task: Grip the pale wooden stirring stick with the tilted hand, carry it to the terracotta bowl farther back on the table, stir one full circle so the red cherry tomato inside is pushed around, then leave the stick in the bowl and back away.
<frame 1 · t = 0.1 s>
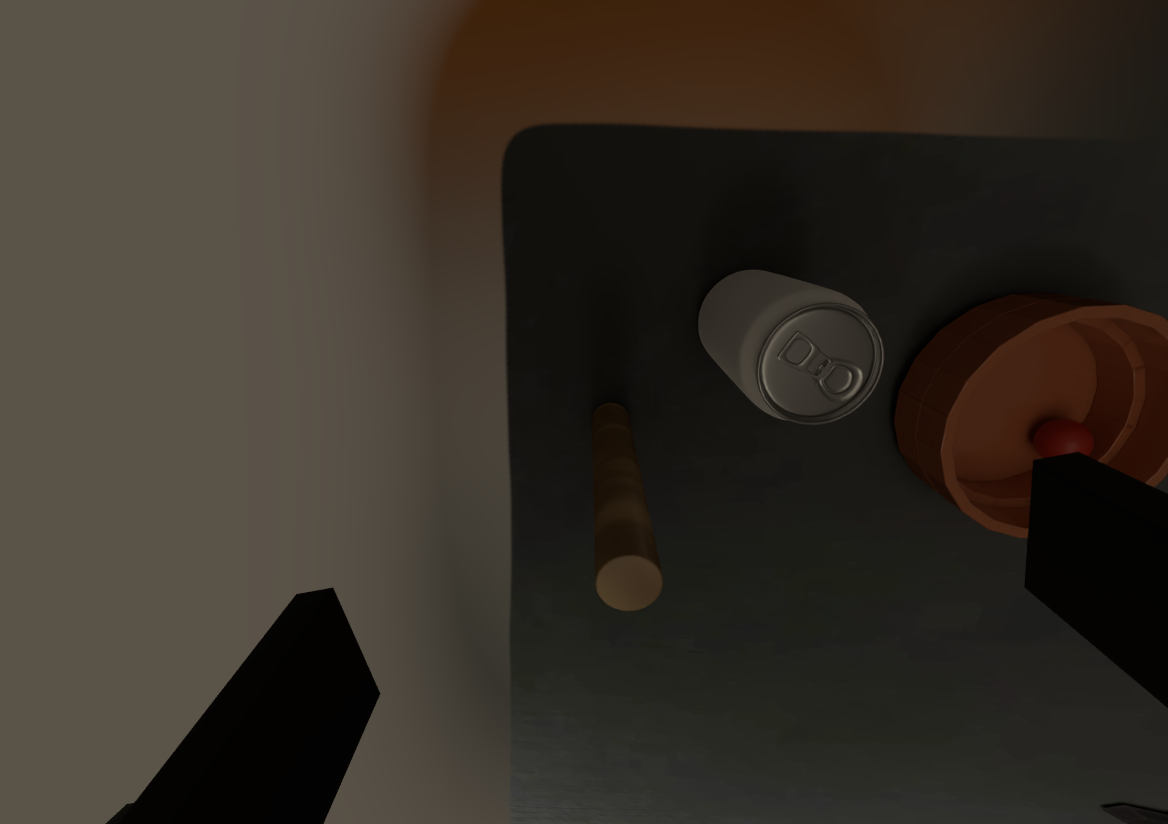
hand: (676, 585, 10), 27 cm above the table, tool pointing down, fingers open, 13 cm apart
stick: (610, 420, 38), on the table
can: (745, 319, 35), on the table
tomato: (1062, 441, 36), point 2 cm above the table, touching stir bowl
stir bowl: (995, 398, 37), on the table
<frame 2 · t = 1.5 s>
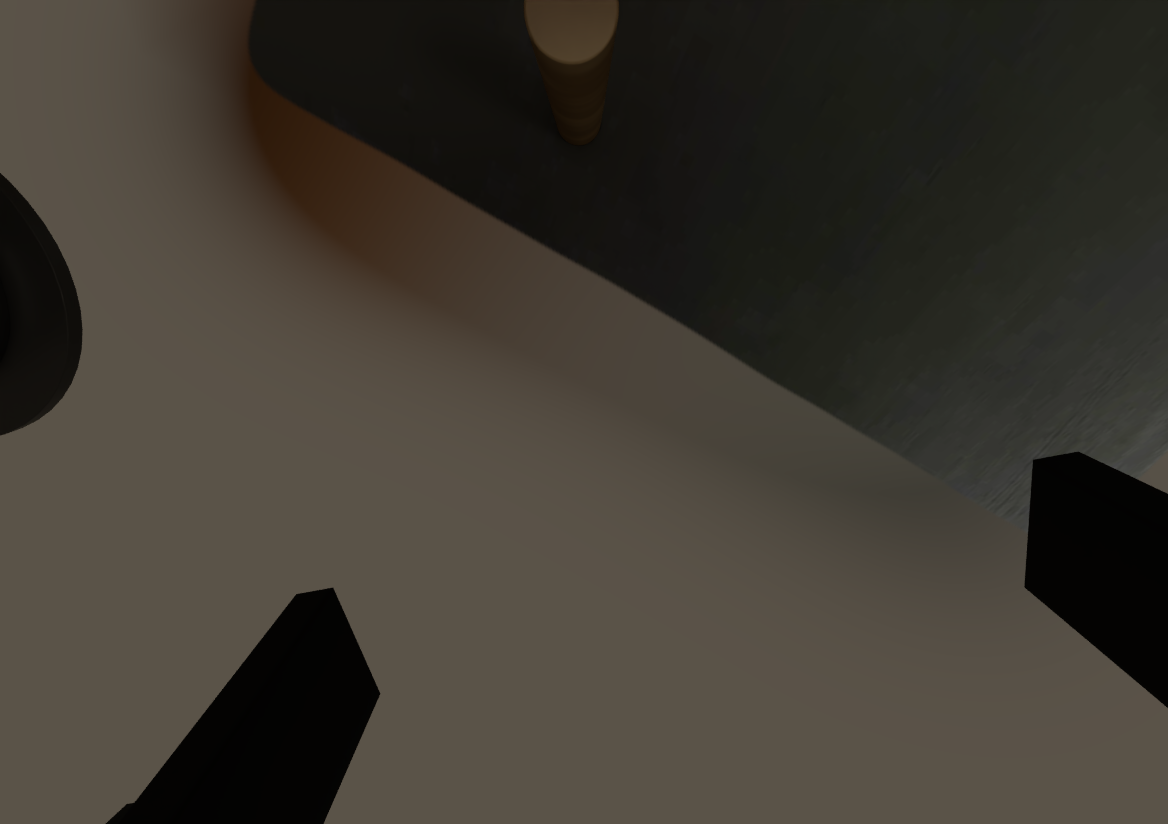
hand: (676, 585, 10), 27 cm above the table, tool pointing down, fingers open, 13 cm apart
stick: (578, 121, 32), on the table
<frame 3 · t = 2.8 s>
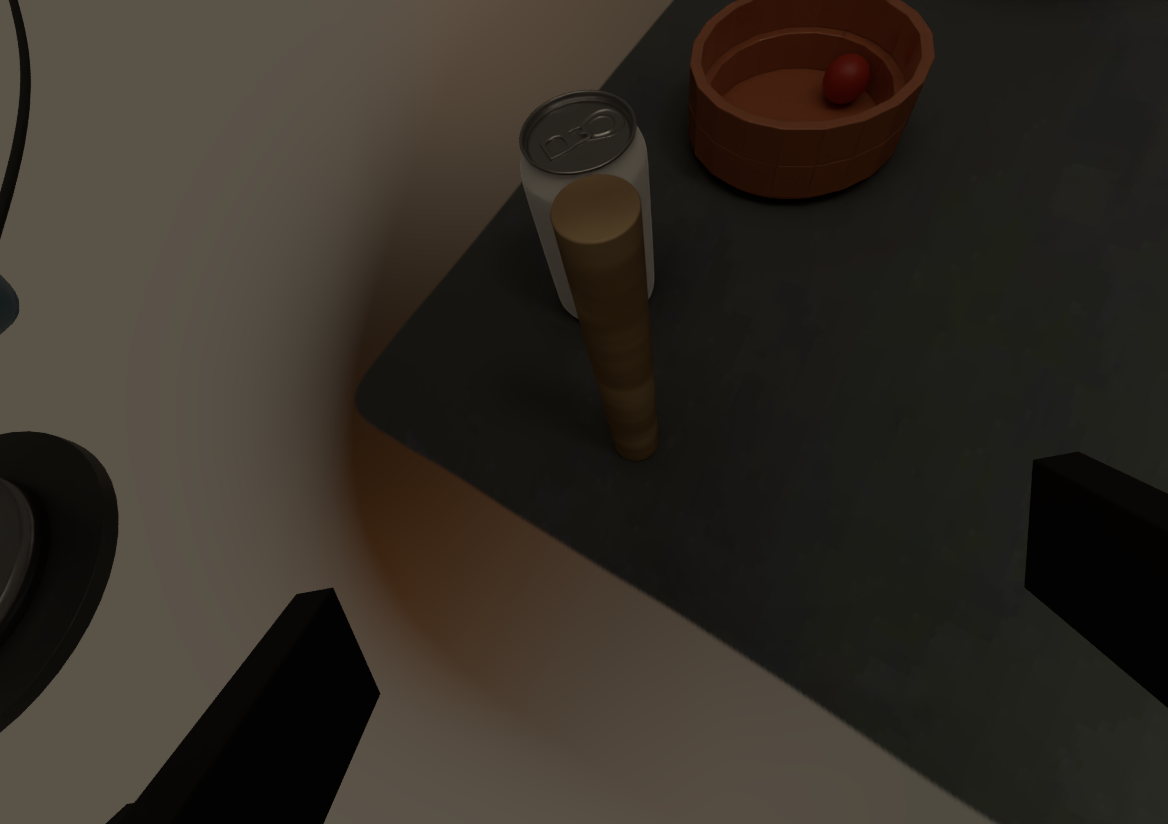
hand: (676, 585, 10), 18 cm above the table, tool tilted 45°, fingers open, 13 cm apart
stick: (636, 440, 31), on the table
can: (606, 289, 36), on the table
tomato: (845, 79, 38), point 2 cm above the table, touching stir bowl
stir bowl: (789, 132, 40), on the table
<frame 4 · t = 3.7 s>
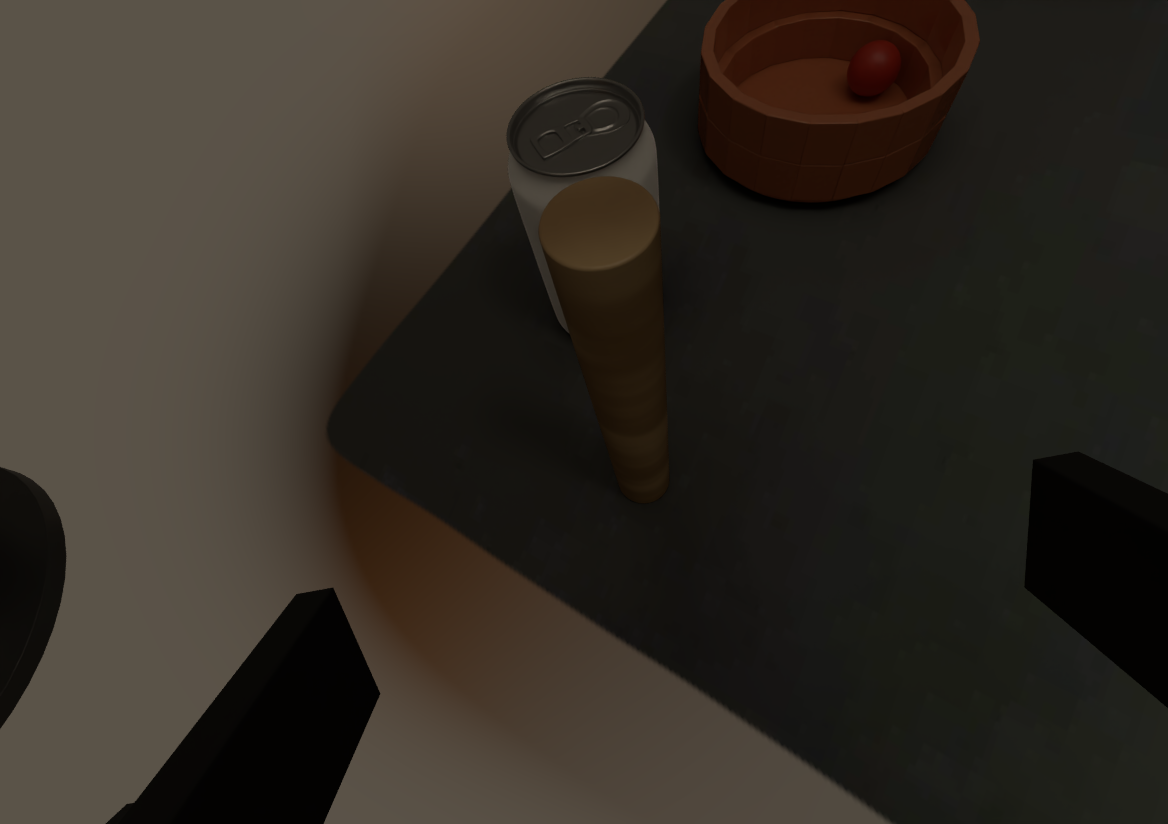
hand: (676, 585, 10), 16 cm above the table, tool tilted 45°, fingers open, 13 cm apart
stick: (643, 478, 28), on the table
can: (608, 304, 33), on the table
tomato: (873, 69, 34), point 2 cm above the table, touching stir bowl
stir bowl: (809, 128, 36), on the table
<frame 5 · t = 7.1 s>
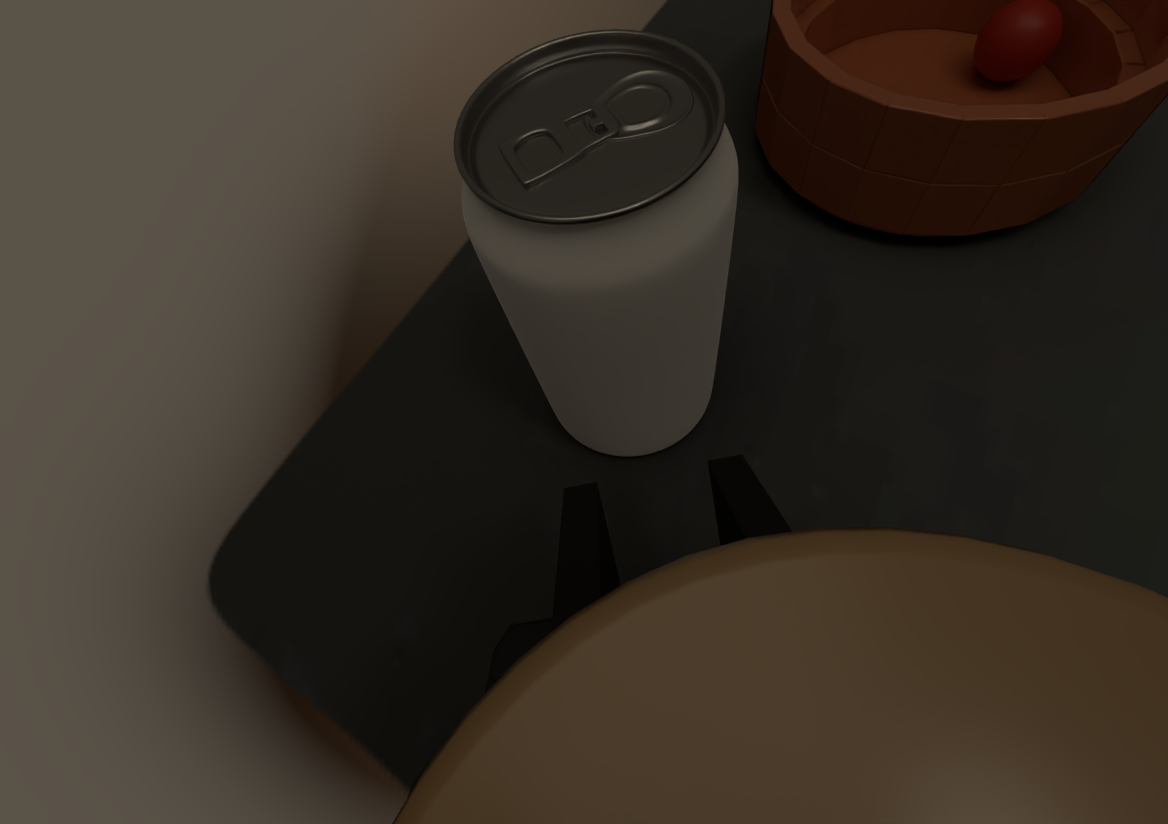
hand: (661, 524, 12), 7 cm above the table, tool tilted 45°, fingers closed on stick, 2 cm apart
stick: (692, 695, 17), on the table, touching gripper
can: (630, 387, 22), on the table
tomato: (1016, 41, 23), point 2 cm above the table, touching stir bowl
stir bowl: (915, 127, 25), on the table
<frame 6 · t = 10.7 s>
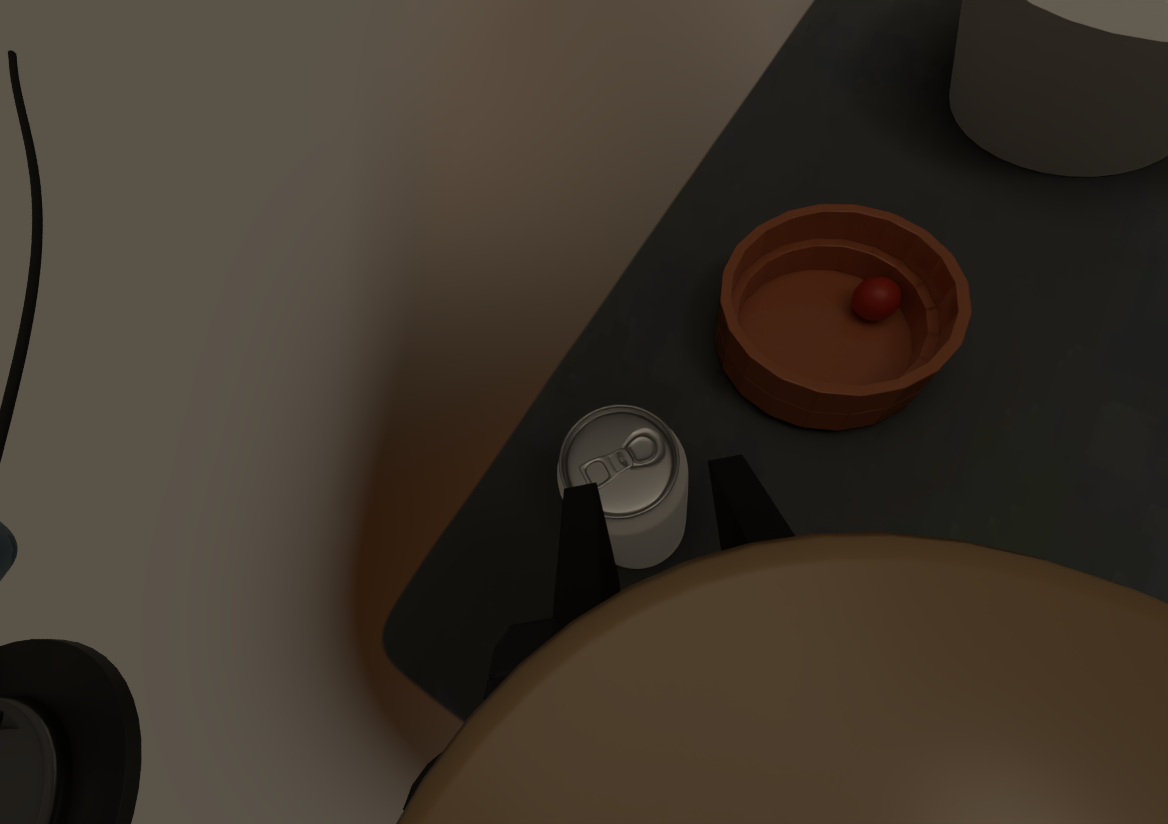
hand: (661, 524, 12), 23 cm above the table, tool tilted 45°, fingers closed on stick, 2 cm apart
stick: (692, 696, 17), point 16 cm above the table, touching gripper
can: (636, 520, 36), on the table
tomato: (875, 298, 37), point 2 cm above the table, touching stir bowl
stir bowl: (817, 342, 39), on the table
bowl: (1063, 102, 45), on the table
when the fingers open (8 cm above the table, at t = 24.4 s): stick stays where it is, resting on stir bowl.
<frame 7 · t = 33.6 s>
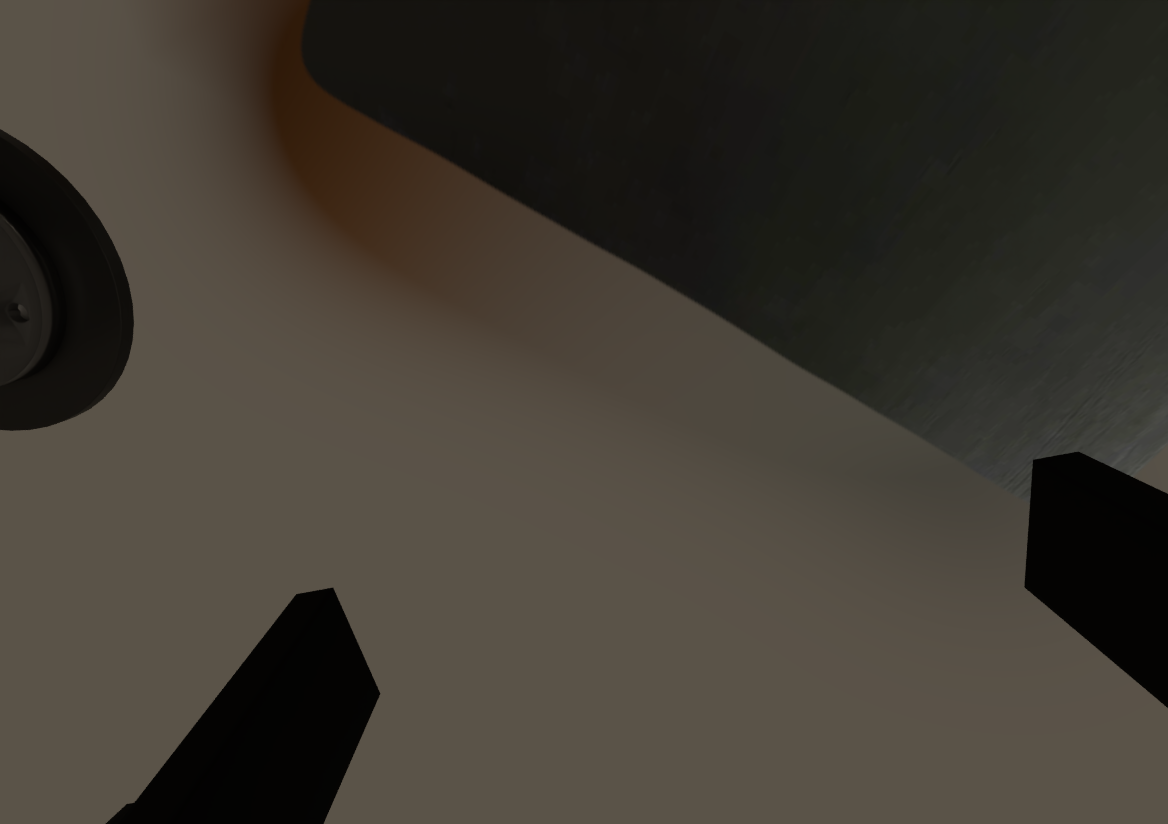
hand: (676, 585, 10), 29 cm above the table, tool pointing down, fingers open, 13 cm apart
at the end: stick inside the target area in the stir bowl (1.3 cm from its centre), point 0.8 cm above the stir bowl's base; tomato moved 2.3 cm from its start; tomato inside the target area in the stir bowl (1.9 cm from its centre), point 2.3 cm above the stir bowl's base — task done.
